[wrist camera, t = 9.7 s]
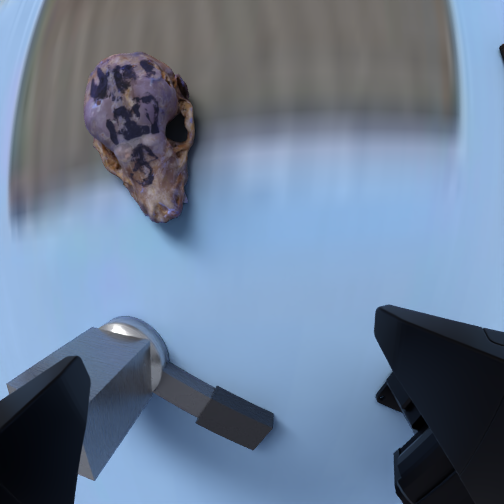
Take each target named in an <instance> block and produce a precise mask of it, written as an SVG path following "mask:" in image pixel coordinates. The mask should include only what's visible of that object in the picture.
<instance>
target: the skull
mask: <svg viewBox="0 0 504 504" xmlns="http://www.w3.org/2000/svg"><path fill="white" fill-rule="evenodd" d="M188 98H189V92H188V89H187V85H186V83H185V82H184V81H183V80H182V78H181V77H180V75H179V74H176V75H174V73H173V71H172V69H171V68H170V67H169V66H167V65H166V64H165V63H163V62H161V61H159V60H157V59H155V58H154V57H152V56H150V55H148V54H146V53H143V52H134V53H124V54H115V55H112V56H110V57H107V58H105V59H104V60H102V61H101V62H99V63H98V64H97V66H96V68H95V69H94V70H93V72H92V73H91V74H90V76H89V78H88V84H87V87H86V92H85V99H84V120H85V124H86V127H87V129H88V131H89V132H90V134H91V135H92V136H93V137H94V142H93V147H94V148H96V149H97V150H98V152H99V153H100V156H101V158H102V161H103V164H104V166H105V168H106V169H107V170H108V171H109V172H111V173H112V174H114V175H116V176H117V177H119V178H120V179H122V180H123V182H124V185H125V187H126V188H127V189H128V190H129V192H130V194H131V196H132V197H133V198H134V199H135V201H136V202H137V203H138V204H139V206H140V208H141V210H142V211H143V212H144V214H145V215H146V216H149V217H150V219H151V220H152V221H153V222H156V223H166V222H168V221H169V220H171V219H173V218H175V217H176V218H177V217H178V216H179V215H180V213H181V212H182V209H183V202H184V203H187V202H188V199H187V196H186V195H185V191H184V185H186V183H187V180H188V171H187V160H188V157H187V155H188V152H189V149H190V147H191V146H192V145H193V140H194V137H195V126H194V118H193V106H192V104H191V103H190V101H189V100H188ZM178 114H182V116H183V117H184V118H185V120H184V125H185V128H186V129H187V131H188V134H187V140H186V141H183V142H175V141H173V140H171V139H169V138H168V137H166V136H165V129H166V125H167V124H168V123H170V122H171V121H172V120H173V119H174V118H175V117H176V115H178Z"/></svg>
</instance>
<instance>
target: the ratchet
mask: <svg viewBox="0 0 504 504" xmlns="http://www.w3.org/2000/svg"><path fill="white" fill-rule="evenodd" d="M99 329H103V330H107V331H111V332H115V333H120V334H124V335H129V336H134V337H138V338H143V339H148V340H150V355H151V382H152V392H153V393H155V394H156V395H158V396H160V397H162V398H163V399H165V400H167V401H168V402H170V403H172V404H174V405H175V406H177V407H179V408H181V409H183V410H184V411H186V412H188V413H190V414H192V415H194V416H195V417H197V421H196V424H198V425H200V426H202V427H204V428H206V429H208V430H210V431H212V432H214V433H216V434H218V435H220V436H222V437H225V438H227V439H229V440H231V441H233V442H235V443H238V444H240V445H242V446H244V447H247V448H249V449H251V450H254V449H255V448H256V447H257V446H258V444H259V443H260V442H261V441H262V440H263V439H264V438H265V436H266V435H267V434H268V433H269V432H270V431H271V430H272V428H273V413H271V412H269V411H267V410H265V409H262V408H260V407H258V406H256V405H254V404H252V403H250V402H248V401H246V400H244V399H242V398H240V397H238V396H236V395H234V394H232V393H230V392H228V391H226V390H224V389H222V388H221V387H219V386H216V388H214V387H212V386H210V385H209V384H207V383H205V382H203V381H201V380H199V379H198V378H196V377H194V376H192V375H191V374H189V373H187V372H185V371H184V370H182V369H180V368H179V367H177V366H175V365H173V364H172V363H170V362H169V356H168V351H167V348H166V346H165V343H164V341H163V340H162V338H161V337H160V335H159V334H158V333H157V332H156V331H155V329H153V328H152V327H151V326H150V325H149V324H147V323H146V322H144V321H142V320H140V319H138V318H134V317H130V316H121V317H116V318H114V319H112V320H110V321H109V322H107V323H106V324H104V325H103V326H101V327H100V328H99Z"/></svg>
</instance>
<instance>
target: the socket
mask: <svg viewBox="0 0 504 504" xmlns="http://www.w3.org/2000/svg"><path fill="white" fill-rule="evenodd" d="M74 355H78V356H80V357H81V359H82V361H83V363H84V365H85V367H86V370H87V372H88V374H89V376H90V380H91V388H90V396H89V405H88V416H87V424H86V430H85V435H84V441H83V446H82V452H81V457H80V463H79V470H78V474H79V475H81V476H84V477H86V478H88V479H91V480H93V481H95V480H96V478H97V477H98V475H99V474H100V473H101V471H102V470H103V468H104V467H105V465H106V464H107V462H108V461H109V459H110V458H111V456H112V455H113V453H114V452H115V450H116V449H117V448H118V446H119V445H120V443H121V442H122V440H123V439H124V437H125V436H126V434H127V433H128V431H129V430H130V428H131V427H132V425H133V424H134V423H135V421H136V420H137V418H138V417H139V415H140V414H141V412H142V411H143V409H144V408H145V406H146V405H147V403H148V402H149V401H150V399H151V398H152V382H151V355H150V340H148V339H143V338H138V337H134V336H129V335H124V334H120V333H115V332H111V331H107V330H103V329H99V328H94V327H92V328H90V329H88V330H87V331H85V332H84V333H82V334H81V335H79V336H78V337H76V338H75V339H73V340H72V341H70V342H68V343H67V344H65V345H64V346H62V347H61V348H59V349H58V350H56V351H55V352H53V353H52V354H50V355H49V356H47V357H46V358H44V359H43V360H41V361H40V362H38V363H37V364H35V365H34V366H32V367H31V368H29V369H28V370H26V371H25V372H23V373H22V374H20V375H19V376H17V377H16V378H14V379H13V380H11V381H10V382H8V383H7V388H8V391H9V395H10V394H11V393H12V392H14V391H15V390H17V389H18V388H20V387H21V386H23V385H24V384H26V383H27V382H29V381H30V380H32V379H33V378H35V377H36V376H38V375H39V374H41V373H42V372H44V371H45V370H47V369H48V368H50V367H51V366H53V365H54V364H56V363H57V362H59V361H60V360H62V359H63V358H65V357H67V356H74Z"/></svg>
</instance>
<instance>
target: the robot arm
mask: <svg viewBox="0 0 504 504" xmlns="http://www.w3.org/2000/svg"><path fill="white" fill-rule="evenodd" d="M374 334H375V338H376V340H377V342H378V344H379V345H380V347H381V349H382V351H383V353H384V355H385V357H386V359H387V361H388V363H389V365H390V367H391V369H392V370H393V372H392V374H391V375H390V376H389V377H388V379H387V381H386V383H385V384H384V385H383V386H382V388H381V389H380V390H379V391H378V393H377V394H376V400H377V402H379V403H381V404H383V405H385V406H388V407H390V408H392V409H395V410H397V411H399V412H402V413H403V414H404V416H405V418H406V419H407V421H408V423H409V425H410V427H411V428H412V430H413V432H414V434H415V435H414V436H413V437H412V438H411V439H410V440H409V441H408V442H407V443H406V444H405V445H404V446H403V447H402V448H399V449H398V450H397V451H395V452H394V479H395V489H396V494H397V496H398V497H399V498H400V499H401V501H402V503H403V504H504V332H501V331H496V330H491V329H487V328H482V327H479V326H474V325H470V324H466V323H462V322H458V321H454V320H449V319H445V318H441V317H437V316H433V315H429V314H425V313H421V312H417V311H413V310H409V309H405V308H401V307H397V306H393V305H385V306H381V307H378V308H377V309H376V313H375V326H374ZM90 388H91V380H90V376H89V374H88V372H87V370H86V367H85V365H84V363H83V361H82V359H81V357H80V356H78V355H74V356H67V357H65V358H63V359H62V360H60V361H59V362H57V363H56V364H54V365H53V366H51V367H50V368H48V369H47V370H45V371H44V372H42V373H41V374H39V375H38V376H36V377H35V378H33V379H32V380H30V381H29V382H27V383H26V384H24V385H23V386H21V387H20V388H18V389H17V390H15V391H14V392H12V393H11V394H10V395H8V396H7V397H5V398H4V399H2V400H1V401H0V504H74V499H75V491H76V483H77V476H78V470H79V463H80V457H81V452H82V446H83V441H84V435H85V430H86V424H87V416H88V405H89V396H90ZM381 396H384V397H382V398H380V397H381Z"/></svg>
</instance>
